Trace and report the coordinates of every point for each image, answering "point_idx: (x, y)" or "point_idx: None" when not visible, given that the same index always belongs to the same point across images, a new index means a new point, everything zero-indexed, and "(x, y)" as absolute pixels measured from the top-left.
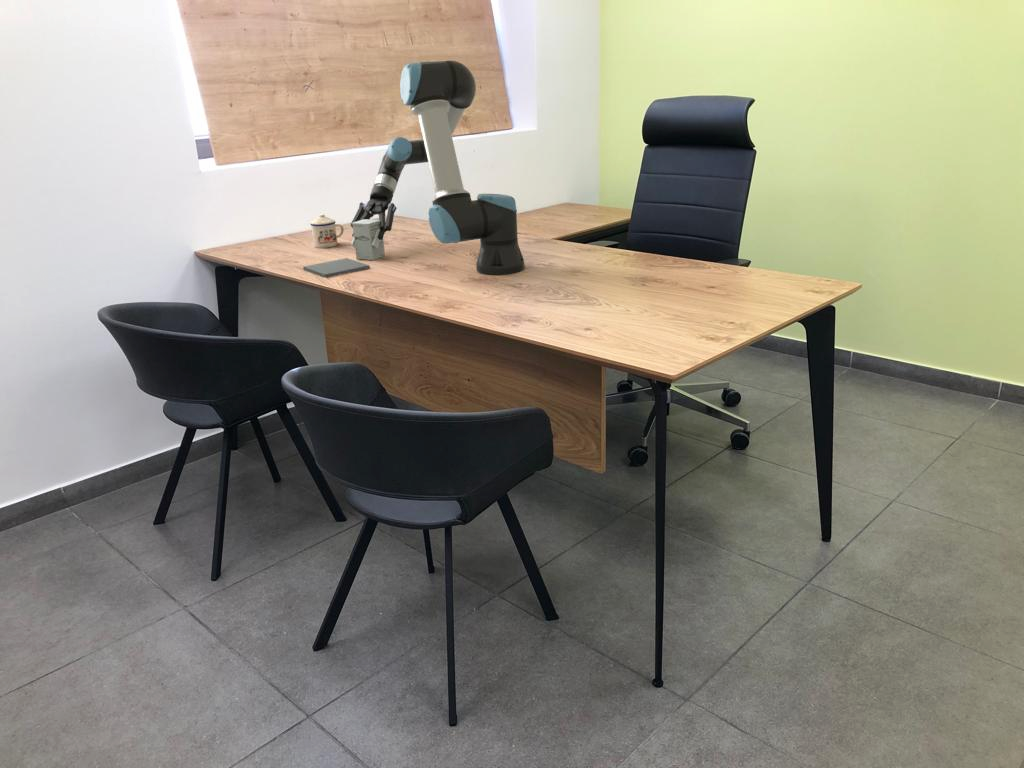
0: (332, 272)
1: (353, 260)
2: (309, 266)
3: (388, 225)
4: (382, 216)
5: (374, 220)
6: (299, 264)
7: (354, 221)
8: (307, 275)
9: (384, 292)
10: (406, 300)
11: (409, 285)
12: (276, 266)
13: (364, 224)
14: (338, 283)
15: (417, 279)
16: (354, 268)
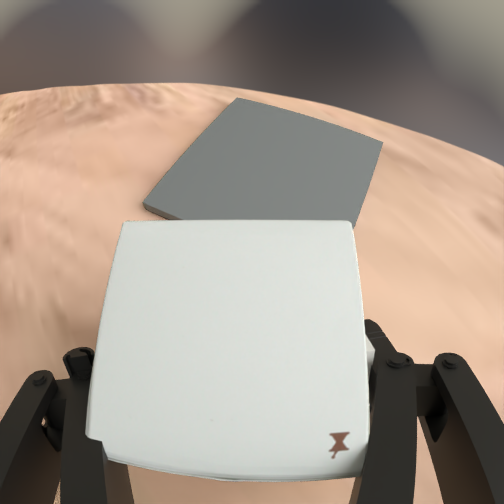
0: (227, 113)
1: None
2: (365, 145)
3: (27, 383)
4: (65, 486)
5: (139, 400)
6: (454, 200)
7: (455, 390)
8: (309, 109)
9: (59, 97)
10: (29, 95)
11: (21, 137)
12: (481, 171)
13: (179, 222)
14: (169, 90)
15: (7, 171)
16: (179, 158)
